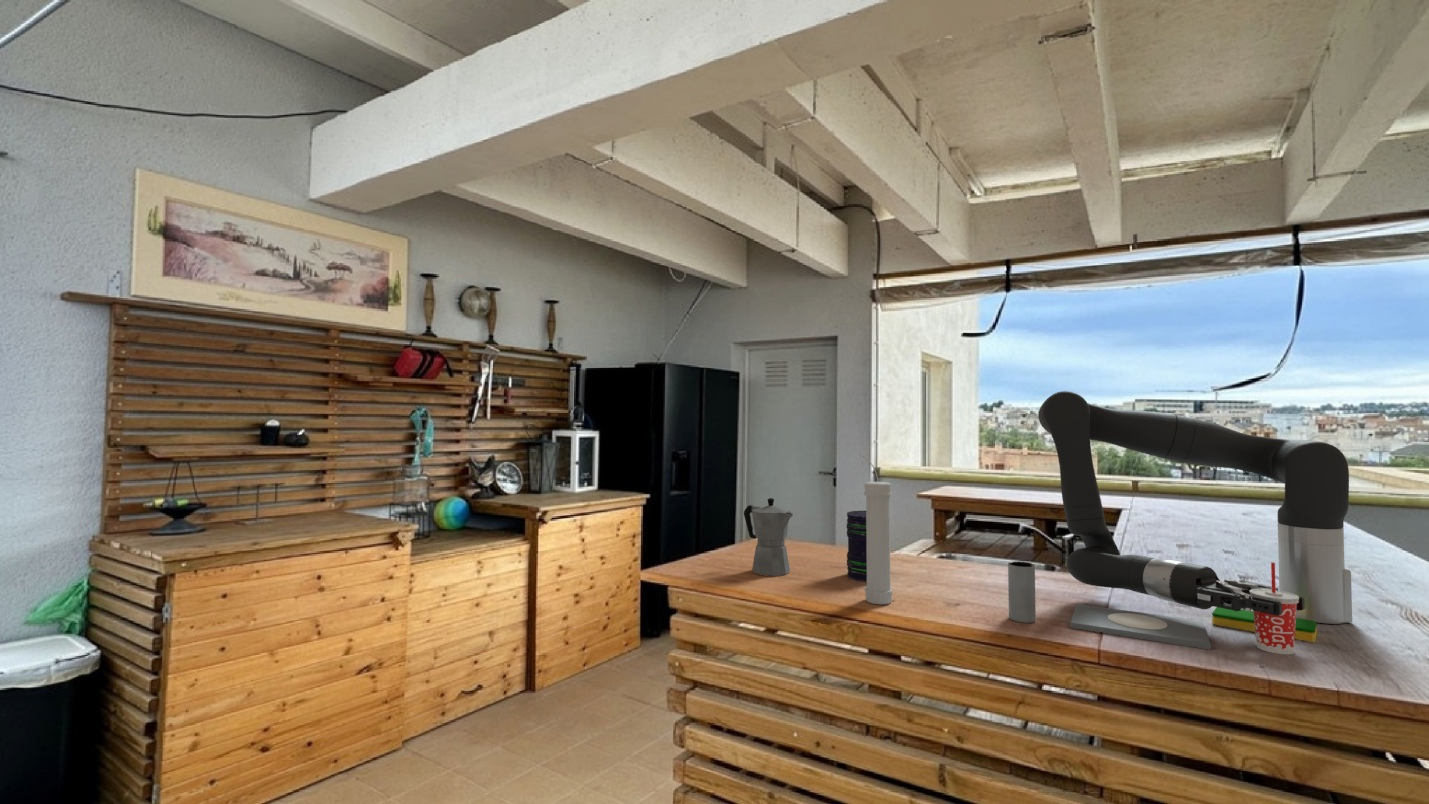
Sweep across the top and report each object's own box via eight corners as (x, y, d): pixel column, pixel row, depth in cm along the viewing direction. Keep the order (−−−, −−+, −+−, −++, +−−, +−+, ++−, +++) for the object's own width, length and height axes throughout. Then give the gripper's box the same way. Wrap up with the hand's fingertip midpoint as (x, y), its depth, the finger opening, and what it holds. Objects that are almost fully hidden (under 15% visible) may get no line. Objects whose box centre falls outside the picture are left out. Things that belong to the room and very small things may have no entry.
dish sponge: (1217, 618, 124) (1217, 605, 124) (1316, 634, 114) (1316, 620, 114) (1212, 626, 118) (1211, 612, 118) (1315, 644, 109) (1314, 630, 109)
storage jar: (895, 575, 155) (894, 512, 156) (882, 584, 147) (881, 517, 147) (855, 570, 161) (854, 509, 161) (840, 578, 152) (840, 514, 153)
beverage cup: (1249, 649, 105) (1247, 562, 106) (1252, 640, 110) (1250, 556, 110) (1300, 659, 101) (1297, 568, 101) (1300, 649, 106) (1298, 562, 106)
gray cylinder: (1024, 624, 118) (1023, 567, 118) (1003, 617, 122) (1002, 562, 122) (1041, 620, 120) (1040, 565, 120) (1019, 614, 124) (1018, 560, 125)
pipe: (893, 606, 130) (892, 455, 131) (861, 604, 131) (860, 455, 132) (891, 598, 135) (890, 454, 136) (860, 596, 136) (860, 454, 137)
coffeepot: (804, 573, 157) (804, 498, 158) (779, 580, 151) (779, 502, 151) (757, 563, 168) (756, 493, 169) (731, 569, 162) (731, 496, 162)
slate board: (1203, 626, 117) (1203, 619, 117) (1210, 649, 105) (1210, 642, 105) (1076, 608, 128) (1076, 602, 128) (1070, 627, 116) (1070, 621, 116)
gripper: (1154, 565, 116) (1267, 587, 100) (1202, 558, 122) (1315, 578, 106) (1155, 608, 115) (1268, 636, 100) (1203, 598, 121) (1316, 624, 106)
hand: (1292, 606), depth 103 cm, fingers closed on beverage cup, 6 cm apart
